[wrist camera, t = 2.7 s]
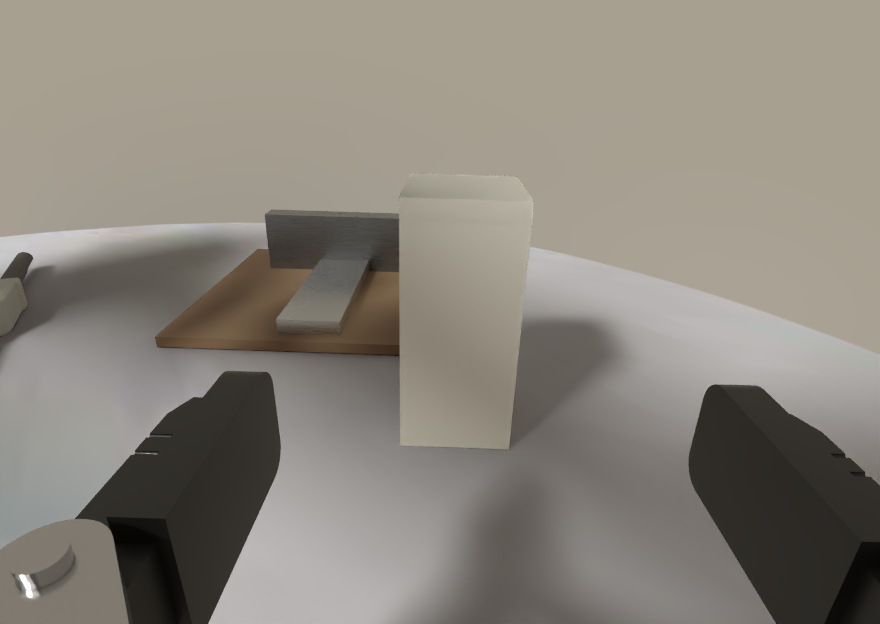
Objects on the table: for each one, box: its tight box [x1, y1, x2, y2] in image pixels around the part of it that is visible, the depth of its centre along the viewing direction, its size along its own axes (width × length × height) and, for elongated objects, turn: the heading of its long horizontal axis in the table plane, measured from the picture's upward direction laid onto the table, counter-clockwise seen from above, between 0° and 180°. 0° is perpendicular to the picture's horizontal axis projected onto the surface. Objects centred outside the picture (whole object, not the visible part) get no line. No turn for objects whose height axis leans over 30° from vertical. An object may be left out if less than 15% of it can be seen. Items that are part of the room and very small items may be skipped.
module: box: [399, 173, 534, 449], centre depth 21 cm, size 4×5×10 cm
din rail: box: [276, 259, 369, 335], centre depth 35 cm, size 4×14×1 cm, turn 179°
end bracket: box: [265, 210, 399, 272], centre depth 38 cm, size 11×2×4 cm, turn 89°
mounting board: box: [155, 249, 400, 355], centre depth 35 cm, size 16×16×1 cm
